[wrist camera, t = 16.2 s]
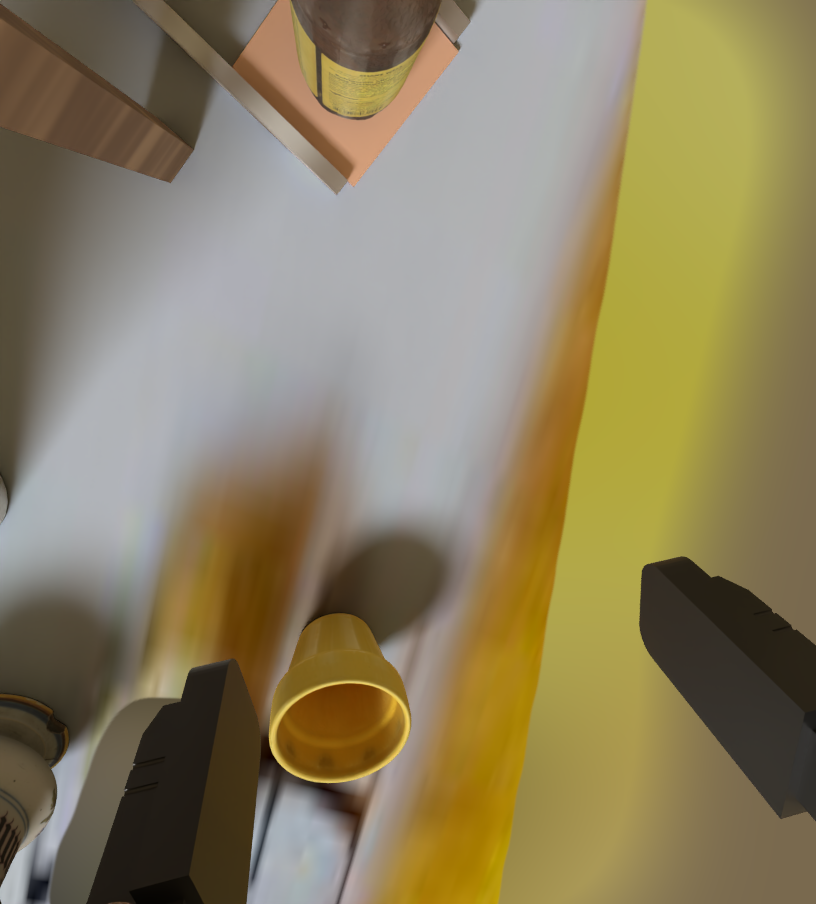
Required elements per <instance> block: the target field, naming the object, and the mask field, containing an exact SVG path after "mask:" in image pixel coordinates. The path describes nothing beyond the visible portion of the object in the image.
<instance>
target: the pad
mask: <svg viewBox="0 0 816 904" xmlns="http://www.w3.org/2000/svg"><path fill="white" fill-rule="evenodd" d="M458 52H459V51H458V50H457V49H456V48H455V46H454V45H453V44H452V43H451V42H450V40H449V39H448V38H447V37H446V36H445V34H444V33H443V32H442V31H441V29H440V28H439V27H438V26H437V25H436V23H435V22H434V24H433V26H432V28H431V31H430V33H429V35H428V37H427V39H426V41H425V43H424V45H423V47H422V49H421V51H420V53H419V55H418V56H417V58H416V60H415V62H414V64H413V67H412V69H411V71H410V73H409V75H408V77H407V79H406V81H405V83H404V85H403V87H402V88H401V90H400V92H399V93H398V95H397V96H396V97H395V99H394V100H393V101H392V102H391V103H390V104H389V105H388V106H387V107H386V108H384V109H383V110H382V111H380V112H378V113H377V114H376V115H374V116H373V117H372V118H370V119H366V120H351V119H346V118H342V117H339V116H337V115H335V114H332V113H330V112H328V111H327V110H325V109H324V108H323V107H322V106H321V105H320V103H319V102H318V101H317V99H316V98H315V97H314V96H313V94H312V92H311V90H310V89H309V87H308V85H307V83H306V81H305V78H304V76H303V74H302V72H301V68H300V65H299V60H298V55H297V49H296V42H295V35H294V28H293V22H292V15H291V8H290V1H289V0H278V1H277V3H276V4H275V5H274V7H273V8H272V10H271V11H270V13H269V14H268V16H267V17H266V18H265V20H264V21H263V23H262V24H261V26H260V27H259V29H258V30H257V31H256V33H255V34H254V36H253V37H252V39H251V40H250V42H249V43H248V45H247V46H246V47H245V49H244V50H243V52H242V53H241V55H240V56H239V58H238V59H237V60H236V62H235V63H234V65H233V66H232V68H233V69H234V70H235V71H236V72H237V73H238V74H239V75H240V76H241V77H242V78H243V79H244V80H245V81H246V82H247V83H248V84H250V85H251V86H252V87H253V88H254V89H255V90H256V91H257V92H258V93H259V94H260V95H261V96H262V97H263V98H264V99H265V100H266V101H267V102H268V103H269V104H270V105H271V106H272V107H273V108H274V109H275V110H276V111H277V112H278V113H279V114H280V115H281V116H282V117H283V118H284V119H285V120H286V121H287V122H288V123H290V124H291V125H292V126H293V127H294V128H295V129H296V130H297V131H298V132H299V133H300V134H301V135H302V136H303V137H304V138H305V139H306V140H307V141H308V142H309V143H310V144H311V145H312V146H313V147H314V148H315V149H316V150H317V151H318V152H319V153H320V154H321V155H322V156H323V157H324V158H325V159H326V160H327V161H328V162H330V163H331V164H332V165H333V166H334V167H335V168H336V169H337V170H338V171H339V172H340V173H341V174H342V175H343V176H344V177H345V178H346V179H347V180H348V182H349V183H350V184H351V185H352V186H353V187H354V186H355V185H356V183H357V182H358V181H359V179H360V178H361V177H362V176H363V174H364V173H365V172H366V170H367V169H368V168H369V167H370V165H371V164H372V163H373V161H374V160H375V159H376V158H377V156H378V155H379V154H380V152H381V151H382V150H383V148H384V147H385V146H386V145H387V143H388V142H389V141H390V139H391V138H392V137H393V136H394V134H395V133H396V132H397V130H398V129H399V128H400V127H401V125H402V124H403V123H404V121H405V120H406V119H407V118H408V116H409V115H410V114H411V112H412V111H413V110H414V109H415V107H416V106H417V105H418V103H419V102H420V101H421V100H422V98H423V97H424V96H425V94H426V93H427V92H428V91H429V89H430V88H431V87H432V85H433V84H434V83H435V82H436V80H437V79H438V78H439V76H440V75H441V74H442V73H443V71H444V70H445V69H446V67H447V66H448V65H449V64H450V62H451V61H452V60H453V58H454V57H455V56H456V55H457V53H458Z"/></svg>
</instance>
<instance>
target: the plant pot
mask: <svg viewBox="0 0 816 904" xmlns="http://www.w3.org/2000/svg"><path fill="white" fill-rule="evenodd" d="M410 729H411V713H410V708H409V703H408V699H407V695H406V691H405V688H404V685H403V682H402V679H401V677H400V675H399V673H398V672H397V670H396V669H395V668H394V667H393V666H392V665H391V664H390V663H389V662H388V661H387V660H385V658H384V656H383V654H382V652H381V650H380V648H379V646H378V644H377V642H376V640H375V638H374V636H373V634H372V632H371V630H370V628H369V627H368V625H367V624H366V623H365V622H364V621H363V620H361V619H360V618H358V617H356V616H354V615H351V614H345V613H334V614H329V615H325V616H322V617H320V618H318V619H316V620H314V621H313V622H311V623H310V624H309V625H308V626H307V627H306V628H305V629H304V630H303V632H302V633H301V635H300V637H299V640H298V643H297V646H296V649H295V652H294V655H293V658H292V661H291V664H290V667H289V670H288V672H287V673H286V674H285V675H284V677H283V678H282V679H281V681H280V682H279V684H278V686H277V688H276V690H275V693H274V696H273V701H272V708H271V715H270V727H269V742H270V747H271V750H272V753H273V755H274V757H275V758H276V760H277V761H278V762H279V764H280V765H281V766H282V767H283V768H285V769H286V770H287V771H288V772H290V773H292V774H293V775H295V776H298V777H300V778H302V779H305V780H309V781H314V782H322V783H337V782H345V781H351V780H355V779H358V778H361V777H364V776H367V775H369V774H371V773H373V772H375V771H377V770H379V769H381V768H382V767H384V766H385V765H386V764H388V763H389V762H390V761H392V760H393V759H394V758H395V757H396V756H397V755H398V753H399V752H400V751H401V750H402V748H403V747H404V745H405V743H406V741H407V739H408V736H409V733H410Z"/></svg>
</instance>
